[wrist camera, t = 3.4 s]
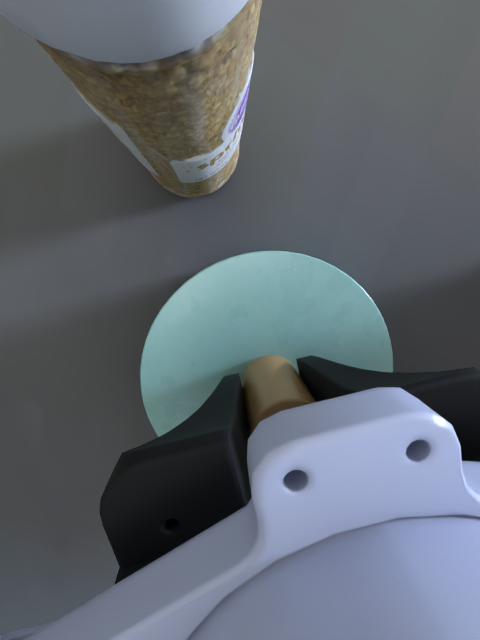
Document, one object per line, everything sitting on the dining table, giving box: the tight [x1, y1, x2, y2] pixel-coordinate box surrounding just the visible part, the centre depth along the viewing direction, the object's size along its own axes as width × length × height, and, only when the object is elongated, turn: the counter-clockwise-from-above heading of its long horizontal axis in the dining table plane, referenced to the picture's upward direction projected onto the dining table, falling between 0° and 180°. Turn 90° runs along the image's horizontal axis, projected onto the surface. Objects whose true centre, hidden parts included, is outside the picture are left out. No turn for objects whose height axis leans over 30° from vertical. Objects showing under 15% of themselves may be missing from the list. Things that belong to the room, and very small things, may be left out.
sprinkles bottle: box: [0, 0, 262, 197], centre depth 8 cm, size 5×5×13 cm
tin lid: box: [140, 251, 393, 437], centre depth 12 cm, size 11×11×5 cm
